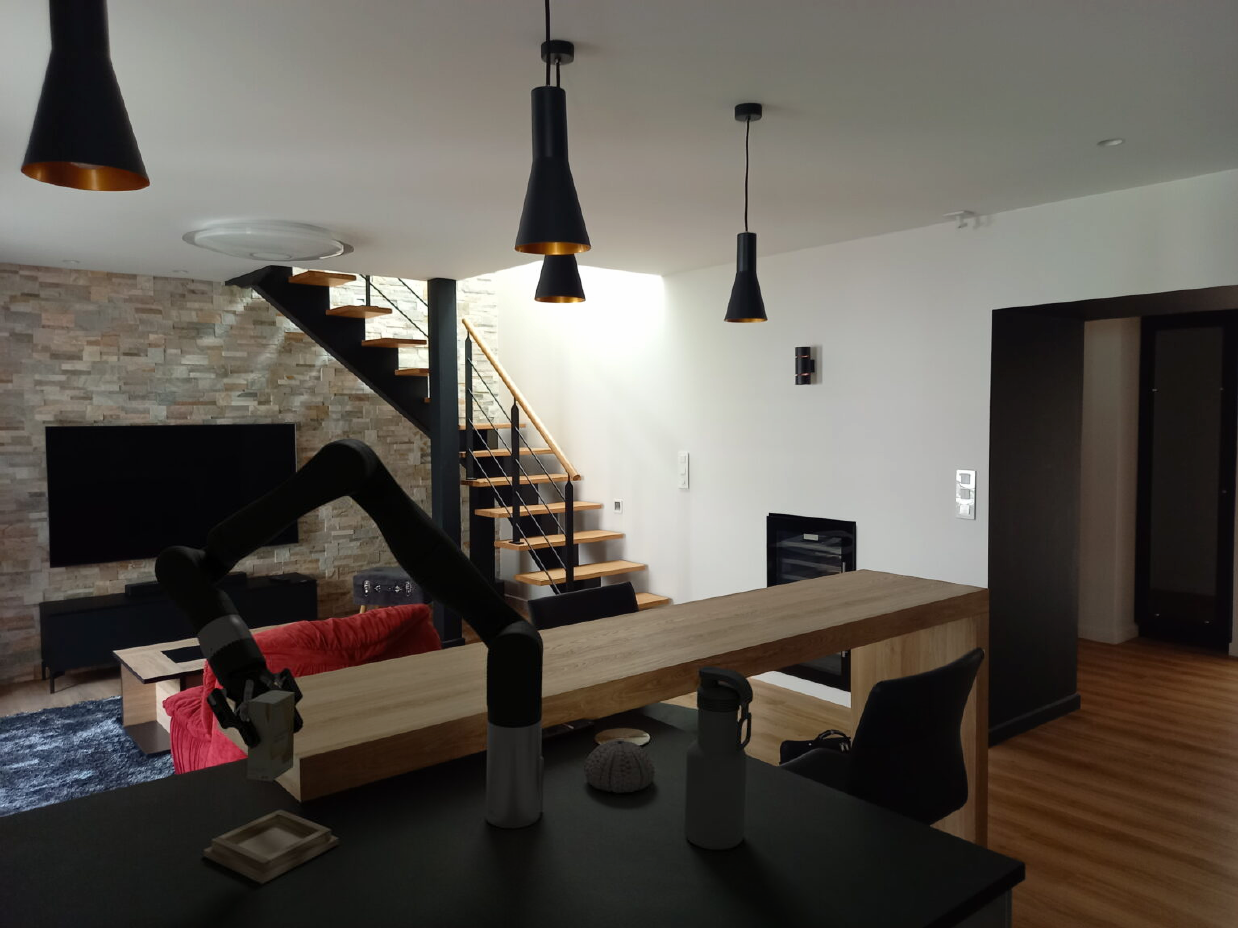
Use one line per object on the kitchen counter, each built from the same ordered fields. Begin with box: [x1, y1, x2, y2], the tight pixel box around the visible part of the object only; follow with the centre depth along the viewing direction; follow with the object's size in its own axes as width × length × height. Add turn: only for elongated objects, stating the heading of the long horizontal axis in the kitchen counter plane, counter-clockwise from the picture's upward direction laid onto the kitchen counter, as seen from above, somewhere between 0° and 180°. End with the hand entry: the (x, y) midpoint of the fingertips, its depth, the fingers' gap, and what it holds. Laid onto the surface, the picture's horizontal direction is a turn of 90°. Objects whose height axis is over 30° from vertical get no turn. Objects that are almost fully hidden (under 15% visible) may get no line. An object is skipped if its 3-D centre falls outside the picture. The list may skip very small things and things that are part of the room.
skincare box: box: [246, 690, 295, 782], centre depth 136 cm, size 6×4×12 cm
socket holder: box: [203, 809, 339, 884], centre depth 137 cm, size 14×14×2 cm
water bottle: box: [684, 665, 754, 851], centre depth 144 cm, size 10×10×28 cm
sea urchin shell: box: [583, 738, 656, 794], centre depth 165 cm, size 13×14×8 cm
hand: (278, 737), depth 135 cm, fingers closed on skincare box, 7 cm apart
